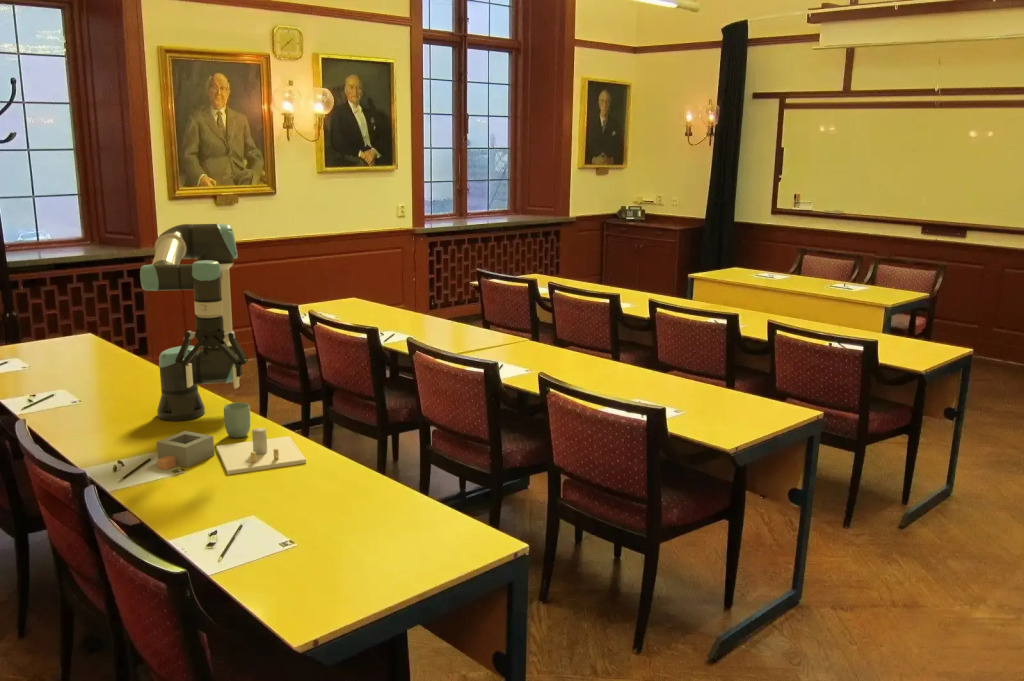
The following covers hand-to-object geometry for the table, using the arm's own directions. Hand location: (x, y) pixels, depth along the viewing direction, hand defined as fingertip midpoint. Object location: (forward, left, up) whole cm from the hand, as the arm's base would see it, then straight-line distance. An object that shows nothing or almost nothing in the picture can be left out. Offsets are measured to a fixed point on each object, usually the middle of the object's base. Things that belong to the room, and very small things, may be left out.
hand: (213, 386), depth 243 cm
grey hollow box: (-1, -10, -22) cm, 24 cm away
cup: (-17, +9, -22) cm, 29 cm away
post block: (+4, +12, -22) cm, 25 cm away
